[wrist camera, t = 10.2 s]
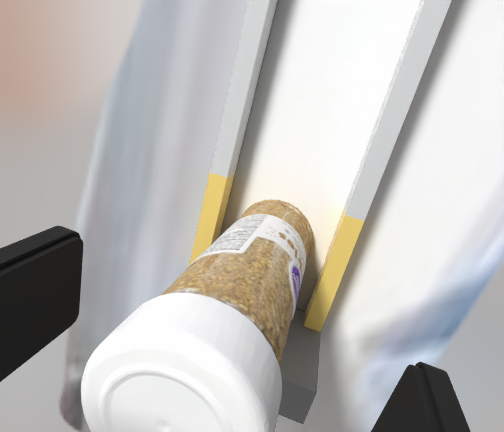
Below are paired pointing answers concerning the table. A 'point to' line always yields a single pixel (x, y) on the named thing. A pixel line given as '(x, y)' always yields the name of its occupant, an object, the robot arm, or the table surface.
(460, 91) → the table surface
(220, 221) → the guide channel
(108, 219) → the table surface
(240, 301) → the sprinkles bottle
